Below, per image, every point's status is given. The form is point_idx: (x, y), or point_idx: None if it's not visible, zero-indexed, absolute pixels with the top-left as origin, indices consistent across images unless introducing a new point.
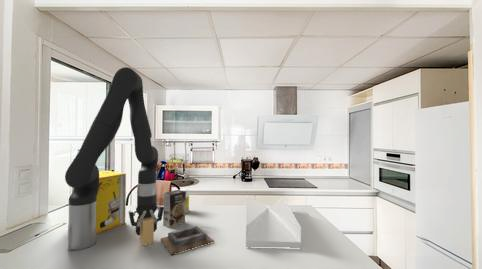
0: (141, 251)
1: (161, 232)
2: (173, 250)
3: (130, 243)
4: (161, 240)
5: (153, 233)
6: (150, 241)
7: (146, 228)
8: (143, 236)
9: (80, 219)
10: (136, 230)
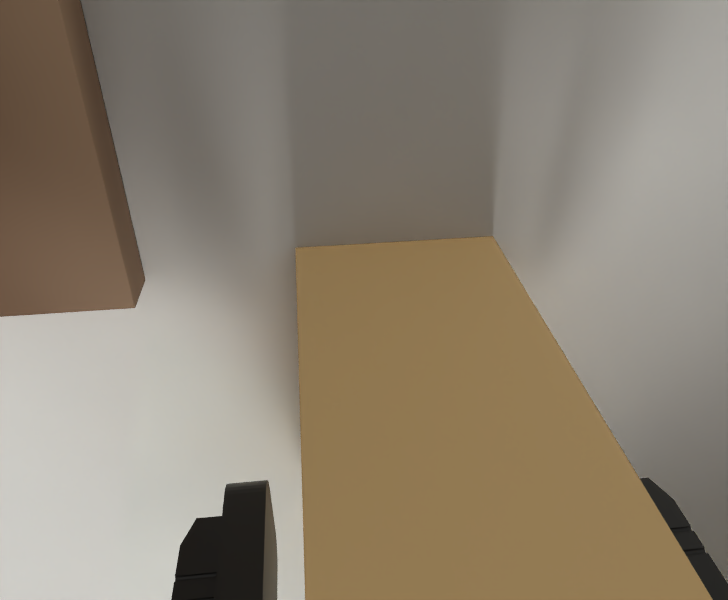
0: (608, 9)
1: (97, 536)
2: None
3: (624, 401)
4: (122, 229)
5: (302, 378)
6: (360, 269)
7: (557, 521)
8: (559, 348)
9: None
10: (710, 559)
